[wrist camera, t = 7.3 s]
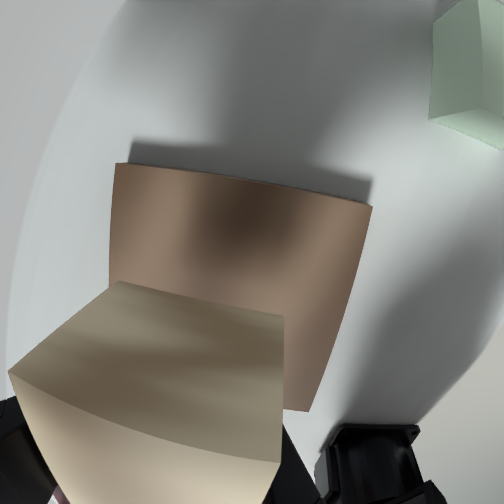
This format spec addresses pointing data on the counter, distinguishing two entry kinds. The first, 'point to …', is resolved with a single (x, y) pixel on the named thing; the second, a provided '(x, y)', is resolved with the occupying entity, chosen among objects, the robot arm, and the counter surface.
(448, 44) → the sage green brick
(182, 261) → the walnut baseboard
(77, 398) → the beech brick
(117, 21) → the counter surface
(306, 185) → the counter surface
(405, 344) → the counter surface
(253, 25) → the counter surface
